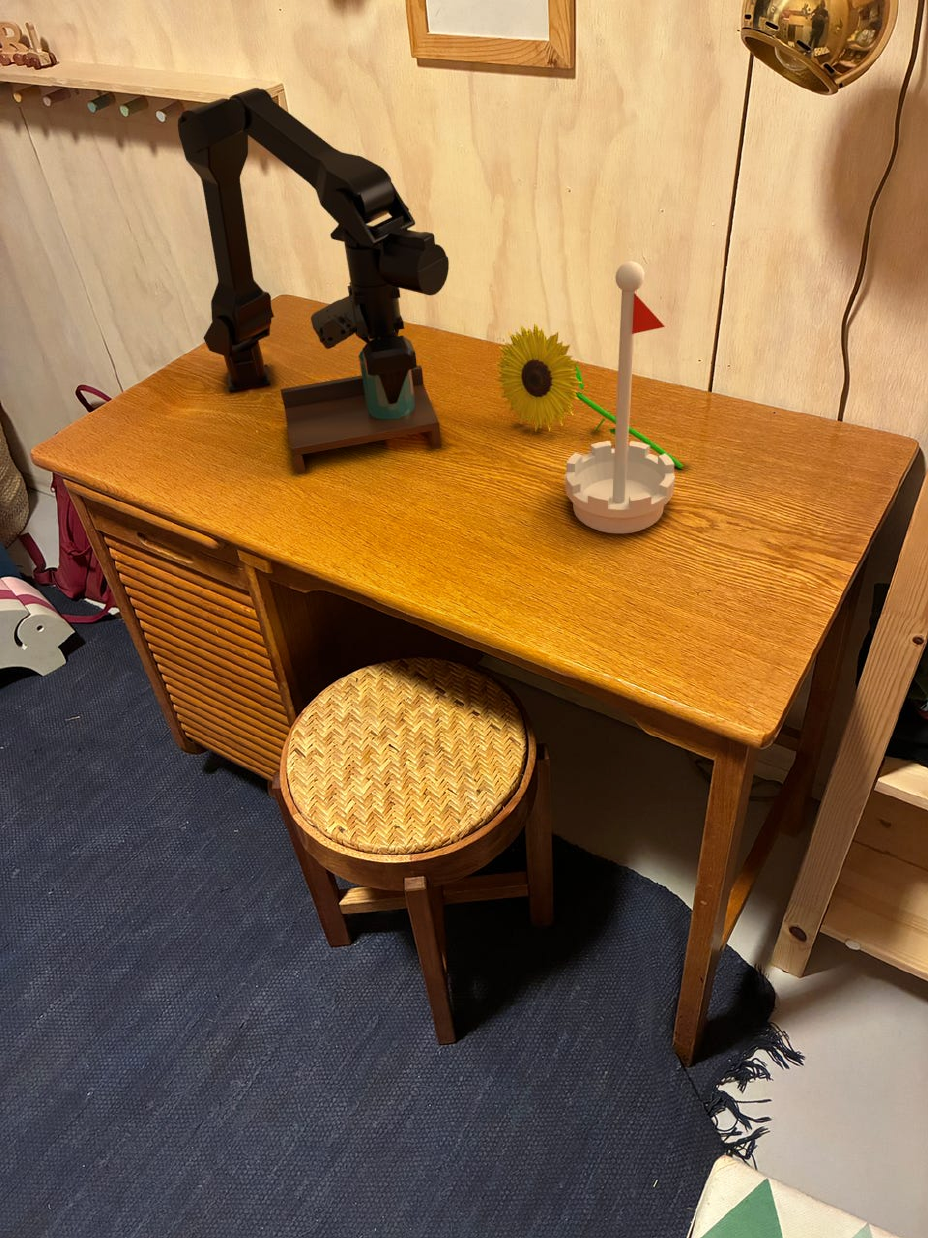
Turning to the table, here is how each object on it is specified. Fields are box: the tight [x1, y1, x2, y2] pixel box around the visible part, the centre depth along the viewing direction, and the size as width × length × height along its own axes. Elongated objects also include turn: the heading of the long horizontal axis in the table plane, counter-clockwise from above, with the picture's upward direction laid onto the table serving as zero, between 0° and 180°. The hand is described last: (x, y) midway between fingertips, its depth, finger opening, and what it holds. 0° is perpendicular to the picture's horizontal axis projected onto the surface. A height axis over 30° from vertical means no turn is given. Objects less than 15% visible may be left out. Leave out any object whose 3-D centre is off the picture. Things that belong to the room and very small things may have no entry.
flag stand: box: [564, 261, 676, 534], centre depth 102 cm, size 13×13×30 cm
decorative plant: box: [494, 321, 684, 470], centre depth 121 cm, size 15×6×30 cm
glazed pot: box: [357, 350, 415, 420], centre depth 124 cm, size 7×7×8 cm
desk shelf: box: [280, 364, 442, 474], centre depth 126 cm, size 12×20×6 cm, turn 103°
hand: (388, 390), depth 125 cm, fingers closed on glazed pot, 6 cm apart
